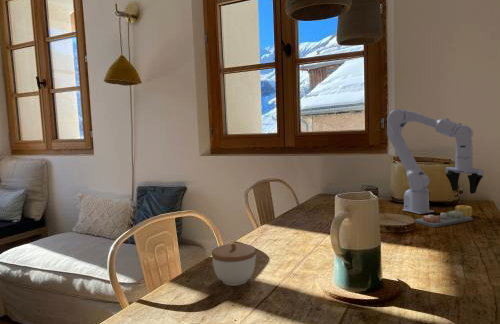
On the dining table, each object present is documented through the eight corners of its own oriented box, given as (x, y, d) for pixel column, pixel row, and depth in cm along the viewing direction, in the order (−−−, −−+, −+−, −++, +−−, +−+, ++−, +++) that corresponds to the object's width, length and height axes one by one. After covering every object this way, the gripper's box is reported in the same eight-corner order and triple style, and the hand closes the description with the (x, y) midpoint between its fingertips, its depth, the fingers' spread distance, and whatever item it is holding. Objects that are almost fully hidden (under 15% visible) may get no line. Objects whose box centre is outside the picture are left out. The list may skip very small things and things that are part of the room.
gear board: (414, 222, 139) (414, 214, 139) (451, 215, 146) (451, 208, 146) (434, 227, 131) (434, 219, 130) (472, 220, 138) (472, 212, 138)
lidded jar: (233, 269, 99) (231, 235, 98) (265, 278, 92) (264, 241, 91) (204, 283, 91) (202, 245, 90) (237, 293, 84) (235, 253, 83)
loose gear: (452, 215, 147) (452, 206, 147) (462, 213, 149) (462, 204, 149) (465, 217, 142) (465, 208, 142) (475, 216, 144) (475, 207, 144)
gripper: (440, 156, 149) (440, 190, 150) (474, 158, 135) (474, 195, 137) (452, 155, 152) (452, 188, 153) (487, 157, 138) (487, 193, 139)
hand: (463, 191), depth 145 cm, fingers open, 7 cm apart
